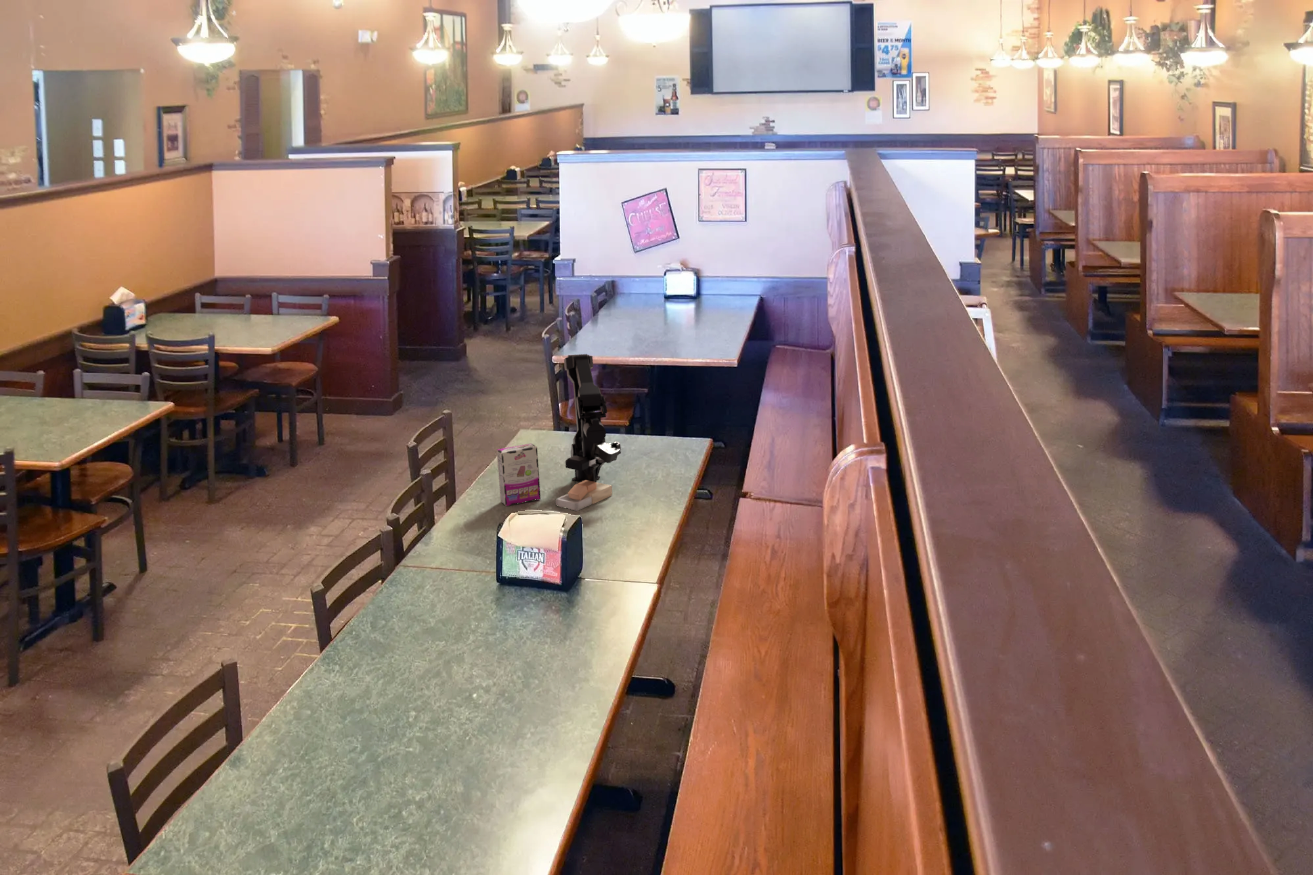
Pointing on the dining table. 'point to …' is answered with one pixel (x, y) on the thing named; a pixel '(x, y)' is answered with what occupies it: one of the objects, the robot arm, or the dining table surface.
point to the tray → (573, 502)
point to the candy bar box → (518, 474)
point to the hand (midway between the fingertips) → (593, 484)
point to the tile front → (577, 492)
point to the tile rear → (588, 485)
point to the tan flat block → (599, 492)
